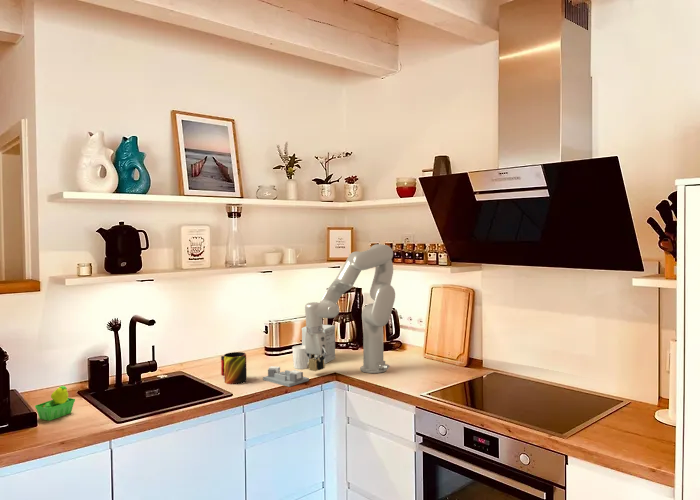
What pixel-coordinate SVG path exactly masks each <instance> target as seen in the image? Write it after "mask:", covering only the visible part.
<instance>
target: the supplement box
mask: <svg viewBox="0 0 700 500" xmlns="http://www.w3.org/2000/svg"><path fill="white" fill-rule="evenodd" d="M322 325H323V329H324V330H323V332H324V334H325V337H326V343H327V354H328V356H327V357H325V359H324V365H326V364H327V363H329V362H331V361H333V360H335V359H336V325H333V324H332V325H331V324H322ZM306 332H307V331H306V326H303V327H301V345H305V338H306ZM315 357H317V355H315ZM320 357H321V356H320ZM308 363H309V357H308Z"/></svg>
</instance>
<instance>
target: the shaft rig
mask: <svg viewBox="0 0 700 500" xmlns="http://www.w3.org/2000/svg"><path fill="white" fill-rule="evenodd" d="M262 380H263V381H267V382H270V383H274V384H277V385H281V386H285V387H289V388H290V387H294V386H296V385H300V384H303V383H306V382H309V381H310V378H309V377H306V376H304V372H303V371H300V370H296V369H293V370H287V369H286V370H284V371H281V366H274V365H273V366H272V365H271V366H269V367H268V369H267V375H265V376H262Z"/></svg>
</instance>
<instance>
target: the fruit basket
mask: <svg viewBox="0 0 700 500" xmlns="http://www.w3.org/2000/svg"><path fill="white" fill-rule="evenodd" d="M50 399H51V400H47V401H44V402H42V403H39V404H36V405H34V407H35V409H36V412H37V414H38V417H39V420H45V421H49V422H50V421H53V420H56V419H58V418H61V417H64V416H66V415H70V414H72V411H73V407H74V404H75V401H76V398H71V397H69V392H68V389H67V386H66V385H61V386H59V387H58V388H56V389H55V390H54V391H53V392H52V393H51V395H50Z"/></svg>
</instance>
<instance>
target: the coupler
mask: <svg viewBox="0 0 700 500" xmlns="http://www.w3.org/2000/svg"><path fill="white" fill-rule="evenodd" d="M317 362H318V357H314V358H311V359H309V362H308V370H309V371H312V372H313V371H314V372H317V371H319V370H318V364H317ZM325 368H326V367H325V364H324V360H323V369H325Z"/></svg>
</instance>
